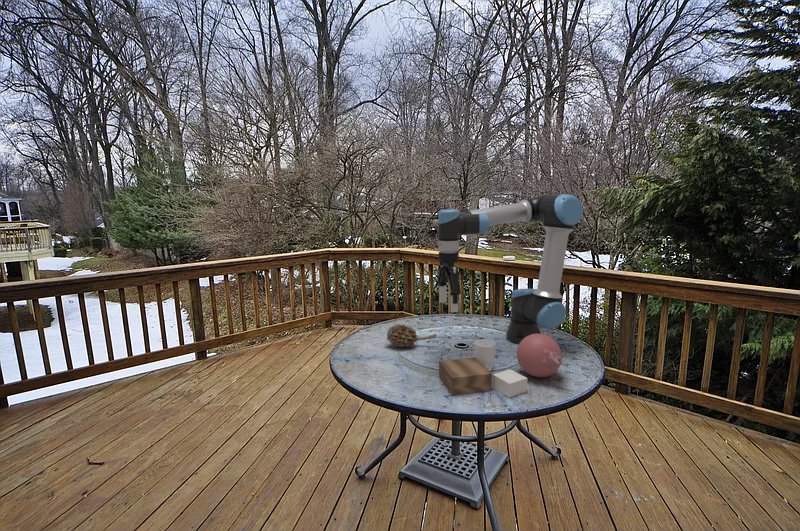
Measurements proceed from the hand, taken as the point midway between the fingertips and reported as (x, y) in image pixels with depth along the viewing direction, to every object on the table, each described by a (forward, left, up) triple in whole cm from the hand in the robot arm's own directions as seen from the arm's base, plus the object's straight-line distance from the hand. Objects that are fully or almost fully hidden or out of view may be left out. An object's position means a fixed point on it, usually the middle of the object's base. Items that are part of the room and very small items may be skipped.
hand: (448, 307), depth 154 cm
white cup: (-12, +7, -23) cm, 27 cm away
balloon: (-28, +20, -23) cm, 41 cm away
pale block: (-13, +25, -23) cm, 36 cm away
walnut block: (0, +17, -23) cm, 28 cm away
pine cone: (+9, -21, -23) cm, 33 cm away
